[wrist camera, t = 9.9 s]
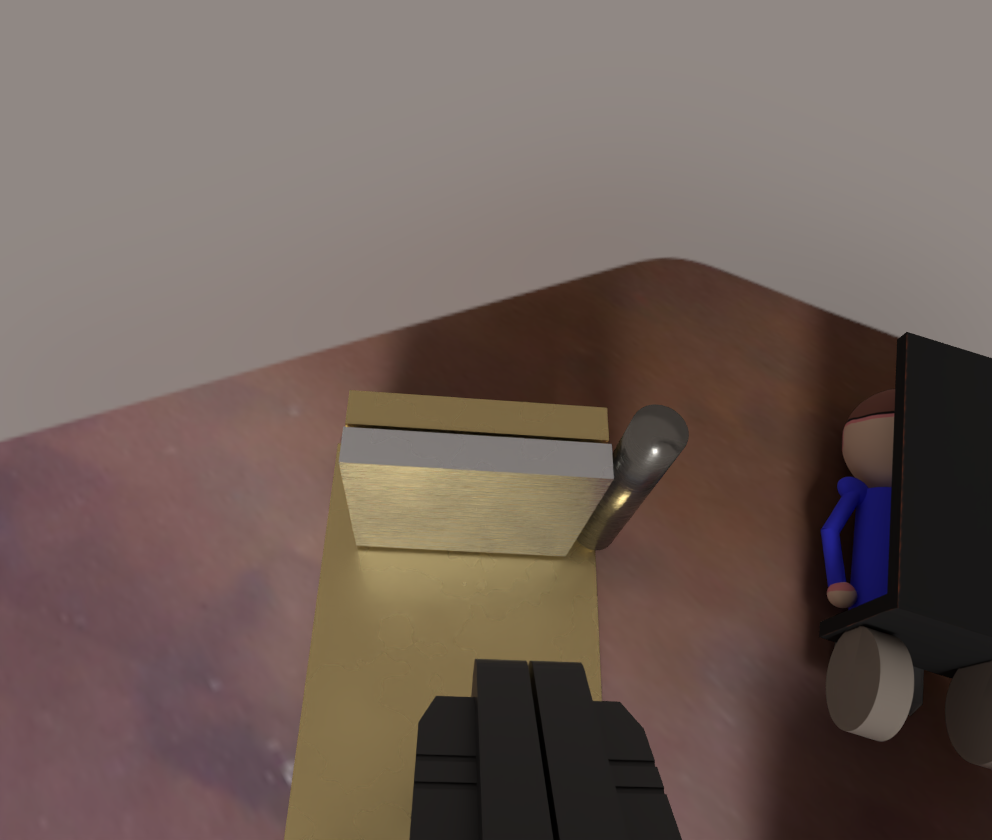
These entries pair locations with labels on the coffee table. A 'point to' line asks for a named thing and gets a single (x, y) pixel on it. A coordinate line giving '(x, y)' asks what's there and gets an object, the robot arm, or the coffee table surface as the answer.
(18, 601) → the coffee table surface
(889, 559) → the figurine character
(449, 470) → the panel
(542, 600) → the brass half
